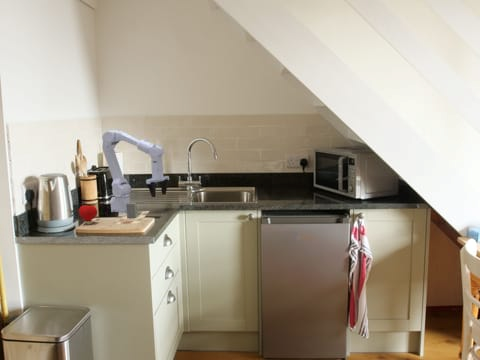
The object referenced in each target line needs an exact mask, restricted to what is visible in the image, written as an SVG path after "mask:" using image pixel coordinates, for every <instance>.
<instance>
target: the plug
mask: <svg viewBox="0 0 480 360" xmlns="http://www.w3.org/2000/svg"><path fill="white" fill-rule="evenodd" d="M126 209H127V211H126V212H127V218H136V217H137V216H138V213H137V211H138V208H137V202H131V201H130V203H127V204H126Z"/></svg>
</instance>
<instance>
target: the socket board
mask: <svg viewBox="0 0 480 360" xmlns="http://www.w3.org/2000/svg"><path fill="white" fill-rule="evenodd" d="M149 213H150V210H137V214H139V215H137V217H136V218H127V211H126V212H124V214H122V215H121V216H120V217H119V218H118V219H117V220H116V221H114V222H113V223H112V225H126V224H127V225H128V224H130V225H131V224H139V223H140V222H141V221H142V220H143V219H144V218H145V217H146V216H147V215H148V214H149ZM125 220H126V221H125Z"/></svg>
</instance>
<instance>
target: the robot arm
mask: <svg viewBox="0 0 480 360" xmlns="http://www.w3.org/2000/svg"><path fill="white" fill-rule="evenodd" d="M101 137H102V147H101V149H102V152H103V154H104V158H105V160H106V161H105V162H106V164H107V167H108V169H109V172H110V174H111V177H112V183H111V187H112V195H113V196H112V197H111V198H110V210H111V213H122V212H124V213H126V212H127V209H126V204H127V203H131V201H130V194H131V192H132V186H131V185H130V184H129V182H128V180H127V179H126V178H125V177H124V175H123V172H122V169H121V166H120V163H119V161H118V158H117V154H116V151H115V148H116V147H117V145H118V144H119V142H121V141H124V142H126V143H128V144H131V145H133V146H135V147H136V148H137V150H139V151H141V152H143V153H145V154H147V155H149V157H150V160H151V162H150V164H151V175H152V176H151V178H149V179H146V180H145V184H146V185H145V186H147V188H148V191H149V193H150V196H151V197H152V198H156V195H157V194H156V190H157V185H158V184H157V183H158V182H159V184H160V187H161V188H160V189H161V195H164V196H165V195H167V191H168V187H169V184H170V176H169V175H167V176H166V175H165V176H164V165H163V163H164V161H163V155H164V153H165V150H164V148H163V146H161V145H156V144H155V143H152V142H149V141H148V140H147V139H146V138H145V139H138V138H136V137H134V136H133V135H130V134H128V133H126V132H125V131H123V130H120V129H114V130H113V129H112V130H110V129H108V130H105V131H104V133H103V134H102V136H101Z"/></svg>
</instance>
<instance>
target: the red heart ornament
mask: <svg viewBox="0 0 480 360" xmlns="http://www.w3.org/2000/svg"><path fill="white" fill-rule="evenodd" d="M78 215H79V217H80V218H81V219H82V220H83V221H84V222H85V224H86V225H91V224H93V222H92V221H93V220H94V219H95V218H96V217H97V215H98V210H97V207H96V206H95V205H87V204H84V205H81V206H80V207H79V209H78Z"/></svg>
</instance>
